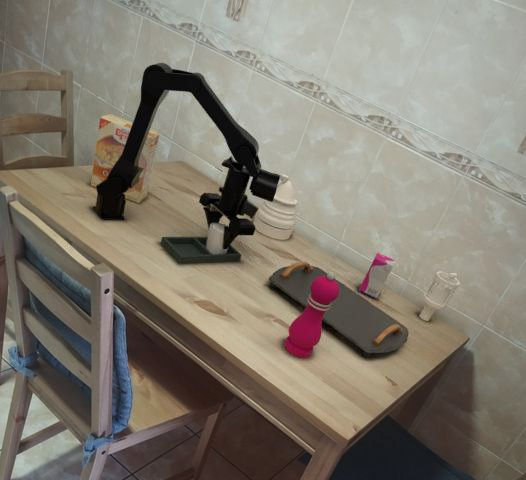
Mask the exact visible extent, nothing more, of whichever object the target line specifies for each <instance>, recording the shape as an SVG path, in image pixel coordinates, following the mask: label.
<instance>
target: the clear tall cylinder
mask: <svg viewBox="0 0 526 480" xmlns="http://www.w3.org/2000/svg"><path fill="white" fill-rule="evenodd" d="M442 277H443V278H442ZM457 277H458V274H457V273H455V272H449V273H448V272H445V271H440V270H439V271H436V272H435V275H434V277H433V279H432V280H431V283H429V286H428V287H427V289H426V291H425V292H424V293H423V294H422V297H421V298H422V300H423V301H424V303H426V304H425V305H424V306H423V308H422V311H421V312H420V313H419V318H420V319H421V320H422V321H426V322H429V321H430V320H431V317H432V316H433V314H434V313H435V311H436V309H438V310H444V309H446V307H447V305H448V303H449V302H450V300H451V299H452V297H453V296H454V294H455V292H456V291H457V289H458V288H459V286H460V285H461V282H460V281H459V279H457ZM444 278H446V279H448V280H446V279H444ZM440 284H441V285H442V286H443V287H440V286H439V285H440Z"/></svg>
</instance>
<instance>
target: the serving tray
mask: <svg viewBox="0 0 526 480" xmlns="http://www.w3.org/2000/svg"><path fill="white" fill-rule="evenodd" d="M328 273H329V272H326V271H324V269H321V268H320V267H319V266H314V265H311V264H310V263H309V262H307V261H297V262H295V263H292V264H290V265H287V266H283V267H281V268H278V269H276V270H275V271H274V272H273V273H272V274H271V275H270V276H269V277H268V281H269V288H270V289H272V290H275V289H277V288H278V289H280V290H281V291H282V292H284V293H285V294H286V295H288V296H289V297H291V298H292V299H293V300H294V301H296V302H297V303H299V304H300V305H301V306H303V307H304V308H305V309H306V307H307V305H308V301H307V299H308V298H309V295H310V294H311V290H310V287H311V284H312V282H313V281H314V280H315V279H316V278H317V277H320V276H327V274H328ZM334 280H335V281H336V282H337V284H338V286H339V294H338V297H337V298H336V299H335V300H334V301H333V302H331V306H330V308H329V310H327V311H326V312H325V313H324V315H323V318H322V322H324V323H326V324H327V325H328V326H330V327H331V328H332V329H334V330H335V331H337V332H338V333H339V334H341V335H342V336H343V337H345V338H346V339H348V340H349V341H350V342H351V343H353V344H354V345H356V346H357V347H358V348H360V349H361V356H362V357H363V358H366V359H367V358H369V357H370V356H371V355H372V354H384V353H390V352H393V351H396V350H399V349H400V348H402V347H403V346H404V344H405V343H406V342H407V341H408V337H409V328H407V326H405V325H404V324H402V323H401V322H400V321H398V320H396V319H395V318H393V317H392V316H391V315H389V314H388V313H386V312H385V311H384V310H383V309H381V308H379V307H377V306H376V305H374V304H372V303H371V302H370V301H369V300H367V299H366V298H365V297H363V296H362V295H361V294H358V293H357V291H354V290H353V289H351V288H350V287H348V286H347V285H346V284H344V283H343V282H341V281H339V280H338V279H336V278H335V279H334Z"/></svg>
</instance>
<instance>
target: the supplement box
mask: <svg viewBox="0 0 526 480" xmlns="http://www.w3.org/2000/svg"><path fill="white" fill-rule="evenodd" d="M395 261H396V260H395V259H393V258H391V257H389V256H386V255H385V254H383V253H380V252H377V253H376V255H375V257H374V258H373V260H372V263H371V265H370V267H369V269H368V270H367V273H366V274H365V277H364V278H363V280H362V283H361V284H360V287H359V290H358V293H360V294H363V295H365V296H367V297H369V298H371V299H374V300H377V299H378V297H379V294H380V293H381V291H382V289H383V287H384V285H385V283H386V281H387V279H388V277H389V275H390V274H391V271H392V270H393V268H394V265H395Z"/></svg>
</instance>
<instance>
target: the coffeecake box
mask: <svg viewBox="0 0 526 480" xmlns="http://www.w3.org/2000/svg"><path fill="white" fill-rule="evenodd" d="M132 124H133V121H130V120H127V119H125V118H122V117H119V116H116V115H115V114H112V113H109V114H106V115H102V116H100V118H99V125H98V130H97V132H98V133H97V137H96V146H95V152H94V158H93V159H94V160H93V164H92V165H93V167H92V174H91V180H90V186H93V187H95V188H96V186H97V185H98V184H99V183H101V182H102V181H104V180H105V179H106V178H107V177H108V175H109V173H110V171H111V170H112V168H113V166H114V165H115V163H116V162H117V161H118V159H119V158H120V156H121V155H122V152H123V149H124V147H125V144H126V141H127V138H128V135H129V132H130V130H131V127H132ZM159 138H160V132H158V131H155V130H153V129H150V131H149V133H148V136H147V139H146V141H145V144H144V147H143V149H142V152H141V155H140V157H139V167H141V168H143V171H142V173H141V174H140V177H139V182H138V183H137V184H136V185H135V186H133V187H132V188H131V189H129V190H127V191H126V192H125V193H123V194H124V195H125V200H129V201H132V202H135V203H137V204H140V203H141V202H142V201H143V200H145V199H146V198H147V196H148V191H149V186H150V181H151V177H152V172H153V167H154V162H155V157H156V152H157V148H158V142H159Z"/></svg>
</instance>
